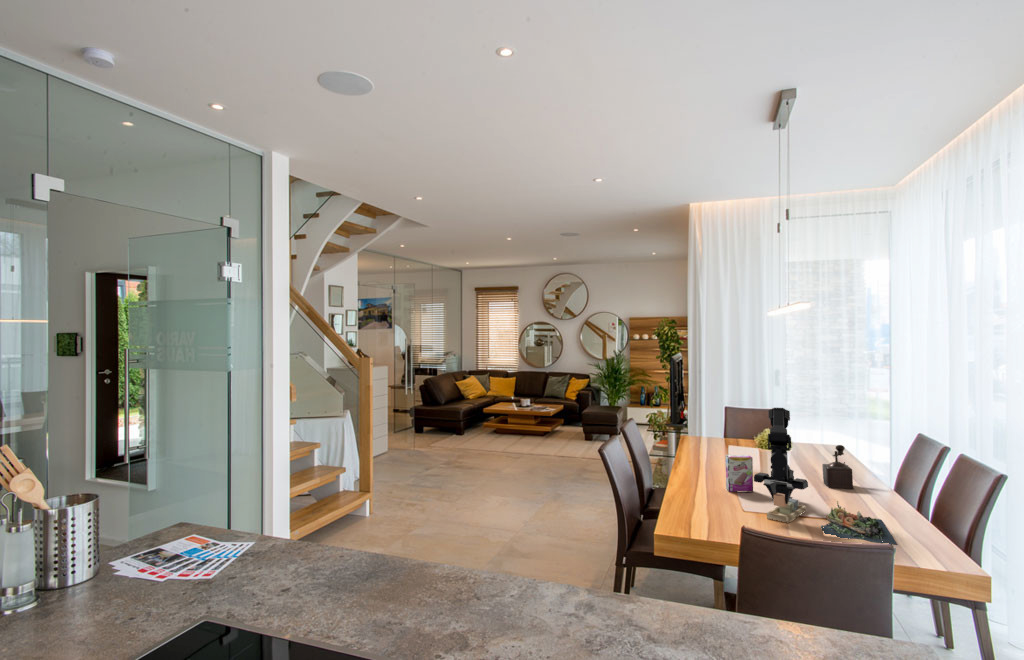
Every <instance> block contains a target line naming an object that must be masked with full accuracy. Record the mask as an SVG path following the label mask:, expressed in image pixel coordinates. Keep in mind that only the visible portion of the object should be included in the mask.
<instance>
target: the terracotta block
mask: <svg viewBox="0 0 1024 660" xmlns="http://www.w3.org/2000/svg"><path fill="white" fill-rule="evenodd" d="M773 496H774V500H773V506H776V507H778V506H780V507H786V506H788V504H786V502H785V494H780V493H776V494H775V495H773Z"/></svg>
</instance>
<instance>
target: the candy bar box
mask: <svg viewBox="0 0 1024 660" xmlns="http://www.w3.org/2000/svg"><path fill="white" fill-rule="evenodd" d="M724 459H725V489H727V490H726V491H727V492H728V491H729V492H728V493H738V492H737V491H753V492H754V470H753V469H754V468H753V467H754V466H753V463H754V462H753V456H751V455H749V454H747V455H746V454H745V455H744V454H740V455H739V454H725V458H724Z"/></svg>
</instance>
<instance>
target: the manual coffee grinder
mask: <svg viewBox="0 0 1024 660" xmlns="http://www.w3.org/2000/svg"><path fill="white" fill-rule="evenodd" d="M845 449H846V448H845V446H844V445H841V444H838V445H836V446H835V450H836V451H834V454H832V457H835V459H834V460H835V461H833V462H830V463H822V466H821V467H822V478H823V484H824V485H825V486H826V487H827V488H829V489H840V490H841V489H842V490H843V489H844V490H854V483H853V482H854V481H853V477H854V476H853V469H852V468H851V467H850V466H849V465H848V464H846V462H845V461H844V462H841V461H838V459H839V458H838V457H839V456H840V457H842V456H843V455H845V454H844V451H845Z"/></svg>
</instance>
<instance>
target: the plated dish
mask: <svg viewBox="0 0 1024 660" xmlns="http://www.w3.org/2000/svg"><path fill="white" fill-rule="evenodd" d="M836 506H837V507H834V508H830V512H829V513H828V515H826V516H825V520H827V521H828V522H827V523H826V524H822V525H821V526H820V529H821V528H822V529H821V532H822V531H824V533H825V534H831V535H836V536H837V537H840V538H848V539H847V540H862V541H867V542H870V543H876V544H883V543H889V544H888V545H892V544H893V545H892V546H897V545H898V543H897V541H896V540H895V538H894V537H893V535H892V533H891V531H890V530H889V528H888V527H887V525H886V523H884V521H883V520H882V519H880V518H876V517H874V518H872V517H871V516H863V515H862V513H861V512H860V511H859V510H858V511H857V512H856V513H857V514H854V513H851V512H847V511H846V507H843V508H842V506H841V505H839V501H836ZM823 527H824V528H823ZM840 538H839V539H840ZM849 538H850V539H849ZM882 541H883V542H882Z"/></svg>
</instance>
